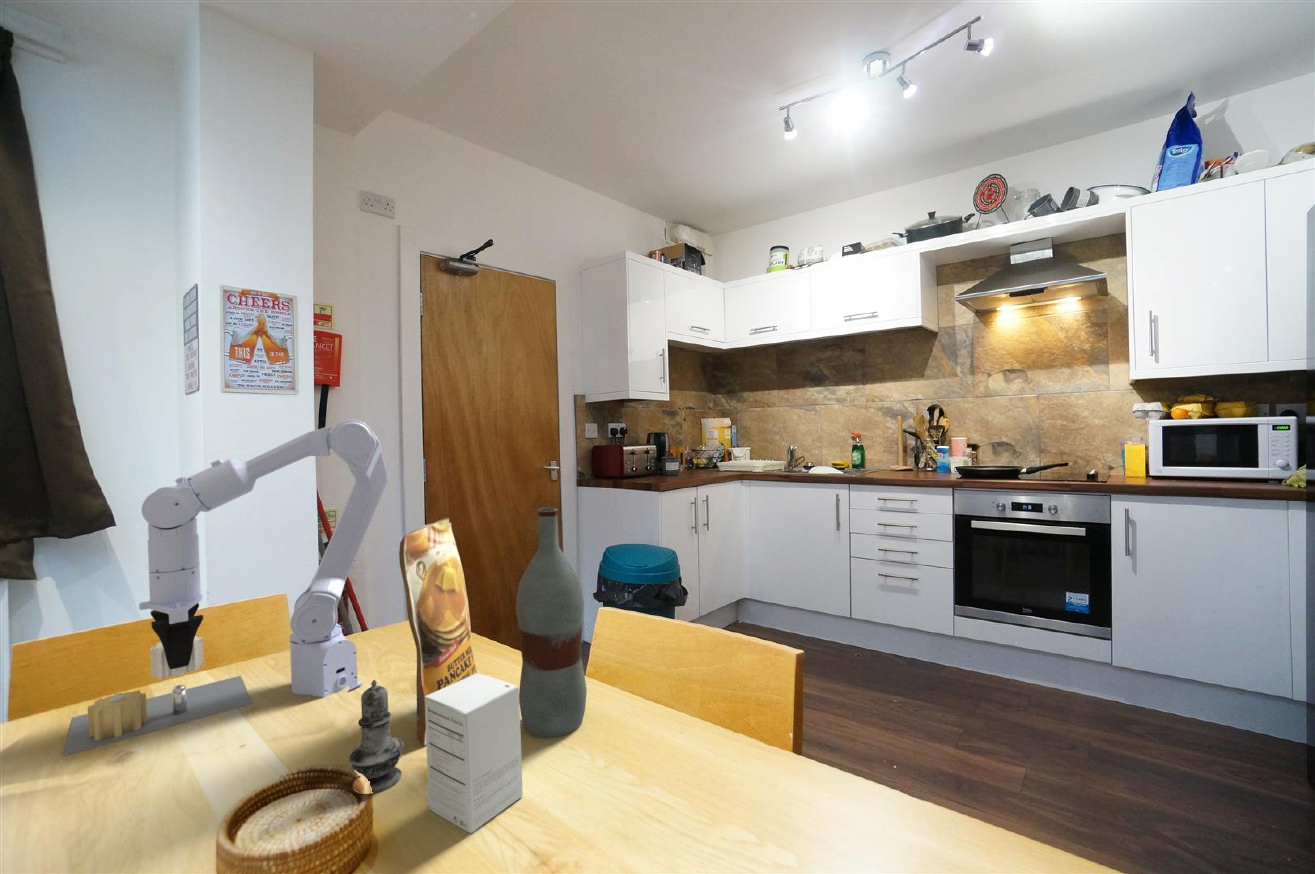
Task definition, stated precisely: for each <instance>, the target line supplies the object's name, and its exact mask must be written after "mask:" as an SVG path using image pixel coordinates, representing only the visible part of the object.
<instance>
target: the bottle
mask: <svg viewBox="0 0 1315 874" xmlns="http://www.w3.org/2000/svg"><path fill="white" fill-rule="evenodd" d="M558 511H559V509H558V508H557V507H542V508H539V509H537V513H538V517H537V519H538V548H537V550H536V552H535V554H534V555H533V557H532V559H531V560H530V562H529V564H528V566H527V568H526V569H525V570H524V573H523V575H522V576H521V578H520V580H519V583H518V587H517V595H516V605H515V610H516V617H517V618H516V619H517V623H518V625H517V626H518V631H519V641H520V651H521V652H520V653H521V660H522V663H521V664H522V665H521V670H520V671H521V673H520V679H519V680H520V681H519V706H520V716H521V717H520V718H521V720H522V722H523V726H524V730H525V731H526V732H527V733H528V734H529V735H532V736H534V737H537V738H545V739H546V738H557V737H561V736H565V735H568V734H570V733H572V732H574V731H577V730H578V729H579V727H580V726H581V725H582V724H583V720H584V716H585V711H586V703H587V702H586V701H587V692H588V690H587V683H586V675H585V671H584V665H583V659H582V642H583V641H582V640H583V639H582V638H583V624H584V623H583V620H584V611H585V610H584V609H585V608H584V607H585V601H584V595H583V586H582V582H581V579H580V575H579V574H578V573H577V571H576V570H575V568H574V567H573V566H572V564H571V563H570V561H569V560H568V558H567V557H566V555H565V553H563V551H562V549H561V548H560V546H559V545H560V544H559V526H558Z"/></svg>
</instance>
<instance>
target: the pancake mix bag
mask: <svg viewBox="0 0 1315 874" xmlns="http://www.w3.org/2000/svg"><path fill="white" fill-rule="evenodd" d="M457 547H458V546H457V542H456V539H455V536H454V532H453V527H452V522H450V518H449V517H445V518H443V519H440V520H437V521H436V522H434V523H433V522H431V523H428V524H425V525H422V526H420V527H418V528H415V529H413V530H411V531H410V532H407V533H405V535H404V536H403V538H401V541H400V543H399V550H398V551H399V553H398V557H399V567H400V572H401V577H402V580H403V587H404V591H405V592H404V593H405V597H406V600H405V601H406V611H407V619H408V623H409V627H410V630H411V633H412V637H413V641H414V644H415V649H416V650H415V651H416V730H415V731H416V740H417V741H418V742H419V743H420V744H421V745H423V746H425V747H426V746H427V745H426V720H425V696H427V695H429V694H431V693H434V692H436V691H438V690H440V689H443V688H445V687H447V686H449V685H452V684H454V683H456V682H458V681H460V680H463V679H465V678H467V677H469V676H471V675H473V674H476V673H478V672H477V668H476V662H475V658H474V657H475V655H474V650H473V649H474V647H473V640H472V631H471V630H472V629H471V618H470V609H469V600H468V593H467V587H466V581H465V574H464V569H463V566H462V561H461V557H460V554H459V551H458V548H457Z"/></svg>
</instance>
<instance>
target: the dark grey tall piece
mask: <svg viewBox="0 0 1315 874" xmlns="http://www.w3.org/2000/svg"><path fill="white" fill-rule="evenodd" d="M377 684H378V681H377V680H375V679H373V681H371V683H370V685H371V686H370V687H369V688H367V689H365V690H364V691H363V693H362V694H361V698H360V703H361V707H360V708H361V718H360V719H359V720H358V722H357V723H358V726H359V727H361V729H360V730H361V740H360V744H359V745H358V746H356V747H355V748H353V749H352V751H351V752H350V753H349V755H348V762H349V763H350V764H351V768H352V770H353V769H354V770H356V771H357V772H359V773H361V774H363V775H364V776H365V777H366V778H367V779H368V781H370V786H371V788H372V792H373V794H372V795H374V794H377V793H378V794H379V793H382V792H384V791H386V790H388V789H390V788H393V787H394V786H396V784H397V783H398V782H400V780H401V779H402V776H403V774H402V770H401V769H400V768H398V767H396V766H397V765H398V763H399V760H400V758H401V755H402V750H403V748H404V741H402V740H401V739H400V738H398V737H397V738H396V737H392V735H391V732H390V731H391V730H390V720H391V718H392V717H393V714H392V712H391V711H389V698H388V697H389V694H388V689H387V688H386V687H384V686H382V685H377ZM354 770H353V771H354Z"/></svg>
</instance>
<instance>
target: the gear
mask: <svg viewBox="0 0 1315 874" xmlns="http://www.w3.org/2000/svg"><path fill="white" fill-rule="evenodd" d="M149 652H150V674H151V678H153V677H155V678H157V680H163V679H164V678H170V677H171V678H173V677H181V676H183V675H186V674H187V673H191V672H196V671H198V670H200V667H201V666H204V665H205V661H204V657H205V656H204V637H197V635H195V638H194V642H193V648H192V653H191V658H190V662H189V665H188V666H184V667H180V668H175V669H170V668H169V666H168V663H167V660H166V656H165V652H164V648H163V645H162V643H161V641H160V642H158V643H155V646H152V647H150V649H149Z"/></svg>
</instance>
